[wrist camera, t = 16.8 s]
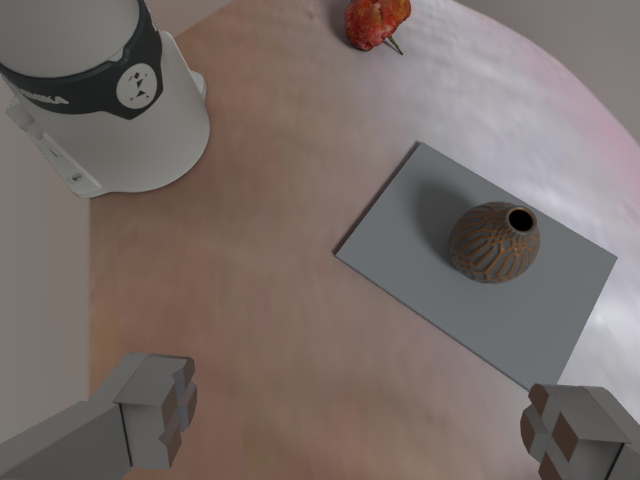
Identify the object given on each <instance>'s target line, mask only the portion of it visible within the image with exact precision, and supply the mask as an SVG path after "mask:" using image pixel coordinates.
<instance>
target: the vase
mask: <svg viewBox="0 0 640 480" xmlns="http://www.w3.org/2000/svg"><path fill="white" fill-rule="evenodd" d="M539 248H540V232H539V229H538V226H537V218H536V216H535V214H534V213H533V212H532V211H531V210H530V209H528V208H526V207H524V206H517V205H515V204H512V203H508V202H501V201H495V202H488V203H484V204H481V205H478V206H476V207H474V208H472V209H470V210H469V211H467V212H466V213H465V214H464V215H462V216H461V218H460V219H459V220H458V221H457V222H456V224H455V225H454V227H453V229H452V231H451V234H450V238H449V254H450V257H451V260H452V262H453V264H454V266H455V267H456V268H457V270H458V271H459V272H460V273H461V274H463V275H464V276H465V277H467V278H469V279H471V280H473V281H475V282H479V283H484V284H499V283H504V282H507V281H510V280H512V279H514V278H516V277H518V276H519V275H521V274H522V273H524V272H525V271H526V270H527V269H528V268H529V267H530V266H531V264H532V263H533V262H534V260H535V258H536V256H537V254H538V251H539Z"/></svg>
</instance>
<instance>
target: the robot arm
mask: <svg viewBox="0 0 640 480" xmlns="http://www.w3.org/2000/svg"><path fill="white" fill-rule="evenodd" d="M155 24H156V23H155V21H154V18H153V16H152V14H151V12H150V10H149V8H148V6H147V5H146V4H145V2H144V0H0V73H1V77H2V78H3V80H4V81H5V82H6V84H7V85H8V86H9V88H10V89H11V90H12V91H13V93H14V94H15V97H14V98H13V100H12V103H11V105H10V108H9V109H7V111H6V113H7V115H8V116H9V117H10V118H11V119H12V120H13V121H14V122H15V123H16V124H17V125H18V126H19V127H20V128H22V129H23V130H24V131H25V132H26V133H27V134H28V135H29V137H30V138H31V139H32V141H33V142H34V143H35V144H36V145H37V147H38V148H39V150H40V151H41V152H42V153H43V155H44V156H45V157H46V159H47V160H48V161H49V162H50V164H51V165H52V166H53V168H54V169H55V170H56V171H57V173H58V174H59V175H60V176H61V178H62V179H63V180H64V182H65V183H66V184H67V186H68V187H69V188H70V190H71V191H72V192H73V193H74V194H75V195H76V196H77V197H79V198H83V199H86V198H92V197H96V196H99V195H102V194H105V193H109V192H143V191H149V190H153V189H157V188H160V187H162V186H165V185H167V184H169V183H171V182H173V181H175V180H177V179H178V178H180V177H181V176H182V175H184V174H185V173H186V172H187V171H189V170H190V169H191V168H192V167H193V166H194V165H195V163H196V162H197V161H198V160H199V158H200V157H201V155H202V154H203V152H204V150H205V148H206V145H207V142H208V138H209V133H210V123H209V117H208V114H207V111H206V108H205V103H204V100H205V96H206V90H207V84H206V82H205V80H204V78H203V76H202V75H201V74H199V73H197V72H194V71H192V70H189V68H188V66H187V64H186V62H185V60H184V58H183V56H182V54H181V52H180V50H179V48H178V46H177V44H176V43H175V41H174V39H173V37H172V36H171V35H170V34H169V33H168V32H167V31H163V30H161V29H159V28H157V27H156V25H155ZM79 177H80V179H79V180H77V178H79ZM76 180H77V181H76ZM194 373H195V364H194V360H193V359H192V358H191V357H182V356H172V355H162V354H148V353H138V352H130V353H128V354H126V355H125V356H124V357H123V359H122V360H121V361H120V362H119V363H118V365H117V366H116V367H115V368H114V370H113V371H112V372H111V373H110V375H109V376H108V377H107V378H106V379H105V381H104V382H103V383H102V384H101V386H100V387H99V388H98V389H97V390H96V392H95V393H94V394H93V395H92V397H91V398H90V399H89V400H88V401H80V402H78V403H76V404H75V405H72V406H71V407H69V408H67V409H65V410H63V411H61V412H60V413H57V414H56V415H54V416H52V417H50V418H48V419H47V420H44V421H42V422H41V423H39V424H37V425H35V426H33V427H31V428H29V429H27V430H26V431H24V432H22V433H20V434H18V435H16V436H14V437H12V438H11V439H9V440H7V441H5V442H3V443H1V444H0V480H120V479H121V478H122V477H123V476H125V475H126V474H127V473H128V472H129V471H130V470H131V467H133V468H152V469H170V468H171V465H172V463H173V461H174V459H175V457H176V454H177V452H178V450H179V448H180V446H181V443H182V442H181V432H182V431H184V430H185V429H186V428H188V427H189V425H190V423H191V421H192V418H193V416H194V412H195V408H196V404H197V385H196V384H195V383H194V382H193V381H192V380H191V379H192V377H193V375H194ZM528 397H529V399H530V401H531V402H532V404H531V405H530V406H529V407H528V408H526V409H525V410H524V411H523V414H522V417H521V421H520V426H521V436H522V439H523V443H524V445H525V447H526V449H527V451H528V453H529V454H530V455H531V456H532V457H533V458H534V459H536V460H537V461H538V462H539V463H540V467H539V471H538V473H539V475H540V477H541V479H542V480H640V425H639V424H638V423H637V422H636V421H635V420H634V419H633V417H632V416H631V415H630V414H629V413H628V412H627V411H626V410H625V408H624V407H623V406H622V405H621V404H620V403H619V402H618V401H617V399H616V398H615V397H614V396H613V395H612V394H611V393H610V392H609V391H608V390H606V389H605V388H603V387H594V386H569V385H554V384H540V383H535V384H534V385H533V386H532V387H531V389H530V392H529V395H528Z"/></svg>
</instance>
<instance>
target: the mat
mask: <svg viewBox="0 0 640 480" xmlns="http://www.w3.org/2000/svg"><path fill="white" fill-rule="evenodd" d="M495 201H501V202H508V203H512V204H515V205H517V206H524V207H526V208H528V209H530V210H531V211H532V212H533V213H534V214H535V216H536V218H537V226H538V229H539V232H540V248H539V251H538V254H537V256H536V258H535V260H534V262H533V263H532V264H531V266H530V267H529V268H528V269H527V270H526V271H525V272H524V273H522V274H521V275H519V276H518V277H516V278H514V279H512V280H510V281H507V282H504V283H499V284H484V283H479V282H475V281H473V280H471V279H469V278H467V277H465V276H464V275H463V274H461V273H460V272H459V271H458V270H457V268H456V267H455V266H454V264H453V262H452V260H451V257H450V254H449V238H450V234H451V231H452V229H453V227H454V225H455V224H456V222H457V221H458V220H459V219H460V218H461V216H462V215H464V214H465V213H466V212H467V211H469V210H470V209H472V208H474V207H476V206H478V205H481V204H484V203H488V202H495ZM335 257H336V258H337V259H339V260H340V261H342V262H343V263H345V264H346V265H347V266H349V267H350V268H352V269H353V270H355V271H356V272H358V273H359V274H360V275H362V276H363V277H365V278H366V279H368V280H369V281H370V282H372V283H373V284H375V285H376V286H378V287H379V288H380V289H382V290H383V291H385V292H386V293H388V294H389V295H391V296H392V297H393V298H395V299H396V300H398V301H399V302H401V303H402V304H403V305H405V306H406V307H408V308H409V309H411V310H412V311H414V312H415V313H416V314H418V315H419V316H421V317H422V318H424V319H425V320H426V321H428V322H429V323H431V324H432V325H434V326H435V327H437V328H438V329H439V330H441V331H442V332H444V333H445V334H447V335H448V336H449V337H451V338H452V339H454V340H455V341H457V342H458V343H460V344H461V345H462V346H464V347H465V348H467V349H468V350H470V351H471V352H472V353H474V354H475V355H477V356H478V357H480V358H481V359H482V360H484V361H485V362H487V363H488V364H490V365H491V366H493V367H494V368H495V369H497V370H498V371H500V372H501V373H503V374H504V375H505V376H507V377H508V378H510V379H511V380H513V381H514V382H516V383H517V384H518V385H520V386H521V387H523V388H524V389H526V390H527V391H528V392H530V389H531V387H532V386H533V385H534V384H535V383H540V384H554V385H556V384H557V382H558V380H559V378H560V376H561V374H562V372H563V370H564V368H565V366H566V364H567V362H568V360H569V357H570V355H571V353H572V351H573V349H574V347H575V345H576V343H577V341H578V339H579V337H580V335H581V333H582V331H583V328H584V326H585V324H586V322H587V320H588V318H589V316H590V314H591V312H592V310H593V308H594V306H595V304H596V302H597V299H598V297H599V295H600V293H601V291H602V289H603V287H604V285H605V283H606V281H607V279H608V277H609V275H610V273H611V270H612V268H613V266H614V264H615V262H616V260H617V258H618V257H617V256H615V255H613V254H612V253H610V252H608V251H606V250H605V249H603V248H601V247H600V246H598V245H596V244H595V243H593V242H591V241H589V240H588V239H586V238H584V237H583V236H581V235H579V234H578V233H576V232H574V231H572V230H571V229H569V228H567V227H566V226H564V225H562V224H561V223H559V222H557V221H555V220H554V219H552V218H550V217H549V216H547V215H545V214H544V213H542V212H540V211H538V210H537V209H535V208H533V207H532V206H530V205H528V204H527V203H525V202H523V201H521V200H520V199H518V198H516V197H515V196H513V195H511V194H510V193H508V192H506V191H505V190H503V189H501V188H499V187H498V186H496V185H494V184H493V183H491V182H489V181H488V180H486V179H484V178H482V177H481V176H479V175H477V174H476V173H474V172H472V171H471V170H469V169H467V168H465V167H464V166H462V165H460V164H459V163H457V162H455V161H454V160H452V159H450V158H448V157H447V156H445V155H443V154H442V153H440V152H438V151H437V150H435V149H433V148H431V147H430V146H428V145H426V144H425V143H423V142H421V143H420V145H419V146H418V147H417V149H416V150H415V151H414V153H413V154H412V155H411V157H410V158H409V159H408V160H407V162H406V163H405V164H404V166H403V167H402V168H401V170H400V171H399V172H398V174H397V175H396V176H395V178H394V179H393V180H392V182H391V183H390V184H389V185H388V187H387V188H386V189H385V191H384V192H383V193H382V195H381V196H380V197H379V199H378V200H377V201H376V203H375V204H374V205H373V207H372V208H371V209H370V210H369V212H368V213H367V214H366V216H365V217H364V218H363V220H362V221H361V222H360V224H359V225H358V226H357V228H356V229H355V230H354V232H353V233H352V234H351V236H350V237H349V238H348V239H347V241H346V242H345V243H344V245H343V246H342V247H341V249H340V250H339V251H338V253H337V254H336V256H335Z"/></svg>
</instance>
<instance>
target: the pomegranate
mask: <svg viewBox="0 0 640 480" xmlns="http://www.w3.org/2000/svg"><path fill="white" fill-rule="evenodd" d="M410 14H411V4H410V1H409V0H351V3H350V4H349V5H348V7H347V9H346V11H345V13H344V28H345V31H346V35H347V37H348V39H349V41H350V42H351V43H352V44H353V45H354V46H355V47H357V48H359V49H362V50H365V51H370V50H371V49H372V48H373V47H374V46H378V45H380V44H381V43H382V42H383V41H384V40H385V38H386V37H388V38H389V40H390V41H391V42H392V43H393V44H394V45H395V46H396V48H397V49H398V50H399V52H400V53H401V54H402V55H403V53H402V52H401V51H400V49H399V47H398V45H397V44H396V43H395V41H394V40H393V39H392V36H391V35H392V34H393V33H394V32H395V30H396V29H397V27H398V26H399V25H400V24H401V23H402V22H403V21H405V20H406V19H407V18H408V17H409V16H410Z"/></svg>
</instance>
